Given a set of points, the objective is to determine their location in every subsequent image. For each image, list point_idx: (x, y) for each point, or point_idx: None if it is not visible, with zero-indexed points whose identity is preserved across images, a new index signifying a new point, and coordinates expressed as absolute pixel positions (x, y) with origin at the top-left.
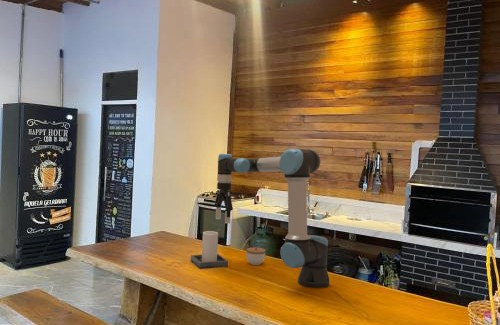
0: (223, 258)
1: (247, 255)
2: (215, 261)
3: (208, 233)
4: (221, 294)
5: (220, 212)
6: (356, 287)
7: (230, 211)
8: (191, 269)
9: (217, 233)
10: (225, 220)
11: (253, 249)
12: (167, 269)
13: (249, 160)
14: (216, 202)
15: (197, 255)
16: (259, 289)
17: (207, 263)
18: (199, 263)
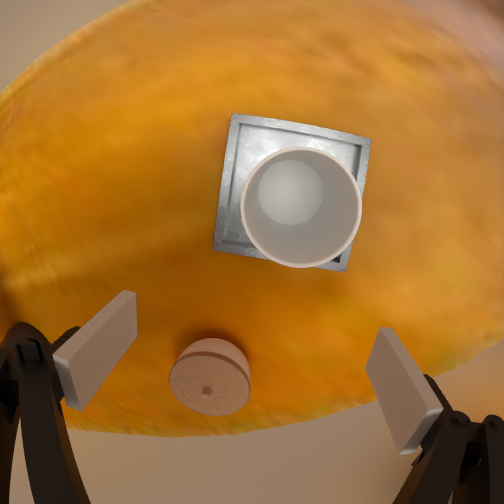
0: (260, 252)
1: (212, 345)
2: (227, 192)
3: (352, 218)
4: (19, 107)
5: (385, 409)
6: None
7: (68, 401)
8: (240, 86)
9: (254, 245)
10: (111, 302)
11: (211, 382)
12: (277, 13)
13: None
14: (483, 460)
15: (358, 166)
16: (14, 213)
17: (226, 150)
18: (234, 114)
